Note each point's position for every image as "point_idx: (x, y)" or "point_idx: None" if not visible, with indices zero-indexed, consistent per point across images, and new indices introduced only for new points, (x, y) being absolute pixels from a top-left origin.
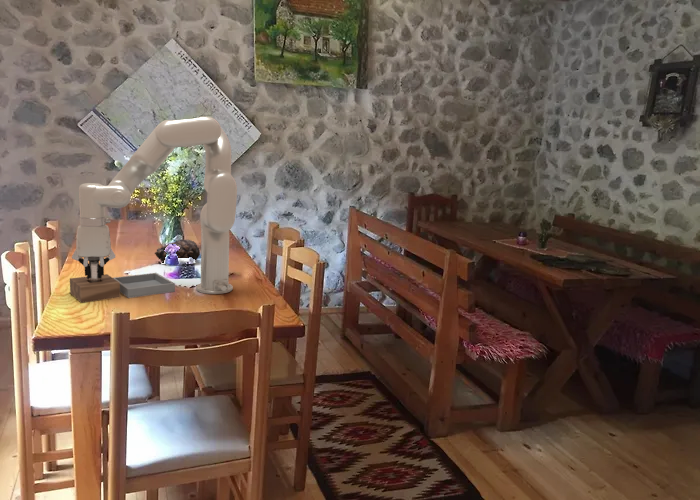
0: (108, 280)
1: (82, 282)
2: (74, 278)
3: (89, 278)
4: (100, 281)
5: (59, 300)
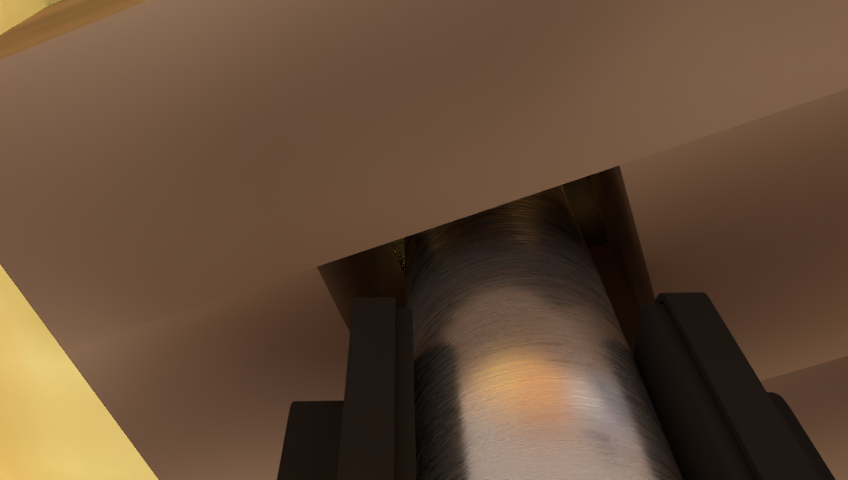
0: (795, 353)
1: (277, 441)
2: (10, 123)
3: (387, 160)
4: (626, 216)
5: (15, 364)
